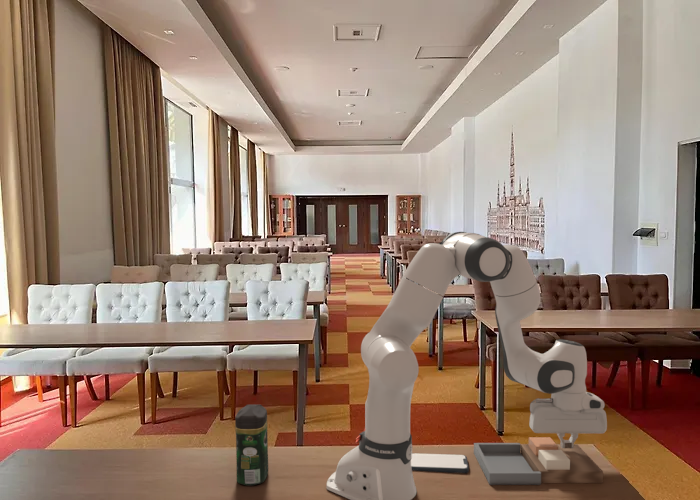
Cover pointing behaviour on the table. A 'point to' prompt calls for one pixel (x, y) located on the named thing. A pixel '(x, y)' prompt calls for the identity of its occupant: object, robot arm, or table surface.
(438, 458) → the phone case
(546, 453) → the cream tile
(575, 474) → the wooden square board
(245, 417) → the coffee jar
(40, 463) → the table surface
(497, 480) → the box
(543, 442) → the terracotta tile
